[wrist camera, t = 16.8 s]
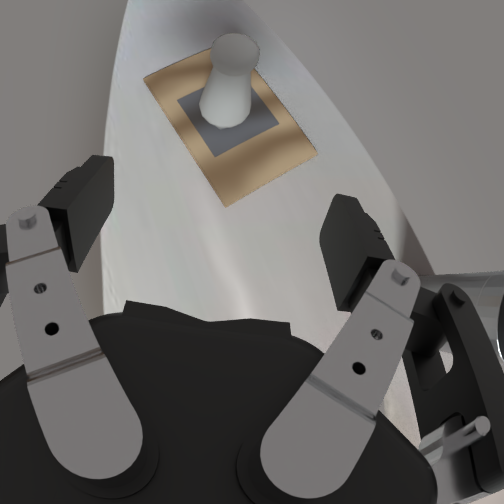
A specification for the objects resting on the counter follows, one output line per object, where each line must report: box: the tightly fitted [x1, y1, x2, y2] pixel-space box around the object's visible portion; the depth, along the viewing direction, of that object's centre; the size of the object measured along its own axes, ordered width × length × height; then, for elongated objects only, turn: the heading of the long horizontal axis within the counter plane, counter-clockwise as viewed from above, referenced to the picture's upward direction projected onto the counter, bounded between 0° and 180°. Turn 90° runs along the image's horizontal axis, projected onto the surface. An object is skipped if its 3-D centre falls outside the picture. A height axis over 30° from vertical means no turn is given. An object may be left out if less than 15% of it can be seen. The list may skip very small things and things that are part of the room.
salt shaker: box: [199, 33, 260, 129], centre depth 30 cm, size 6×6×13 cm
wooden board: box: [143, 49, 318, 208], centre depth 36 cm, size 20×13×1 cm, turn 33°
